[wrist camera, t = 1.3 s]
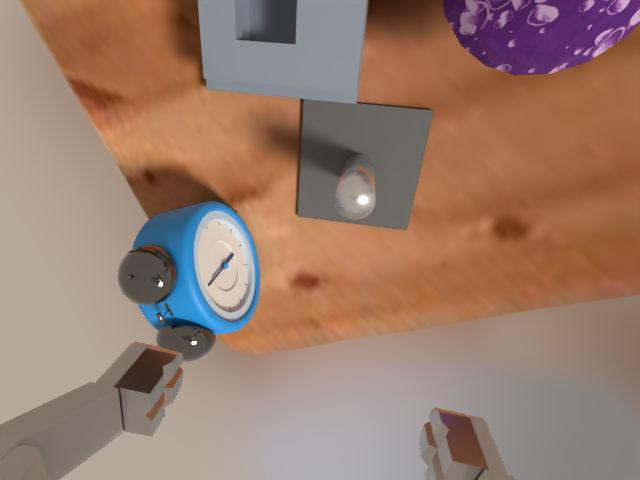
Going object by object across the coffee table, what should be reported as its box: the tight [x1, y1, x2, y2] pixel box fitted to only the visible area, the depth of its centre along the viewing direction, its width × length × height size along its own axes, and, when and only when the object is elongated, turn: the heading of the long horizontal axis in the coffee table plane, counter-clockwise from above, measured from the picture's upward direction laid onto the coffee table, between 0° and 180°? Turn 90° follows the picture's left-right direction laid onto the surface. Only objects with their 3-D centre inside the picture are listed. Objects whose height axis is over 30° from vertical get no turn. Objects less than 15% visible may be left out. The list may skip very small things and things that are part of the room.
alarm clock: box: [118, 201, 260, 363], centre depth 31 cm, size 13×6×15 cm, turn 16°
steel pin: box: [334, 154, 376, 220], centre depth 27 cm, size 3×3×10 cm
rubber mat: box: [298, 99, 434, 230], centre depth 32 cm, size 12×12×1 cm
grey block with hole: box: [198, 0, 369, 104], centre depth 25 cm, size 14×12×6 cm
